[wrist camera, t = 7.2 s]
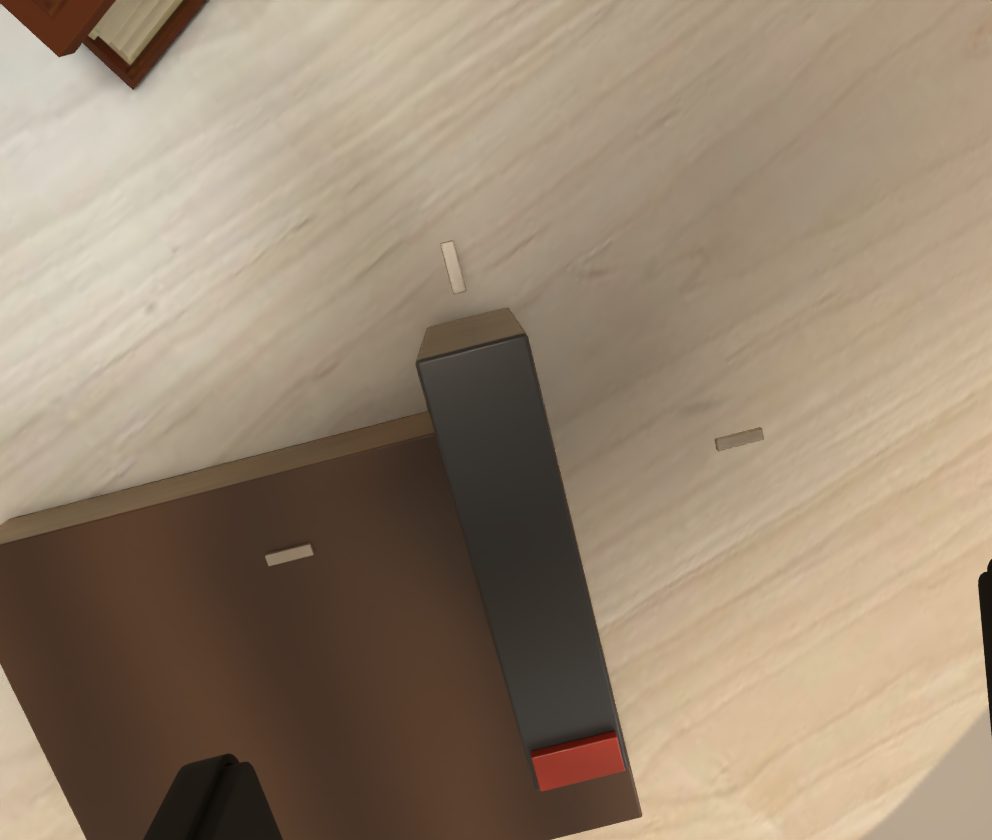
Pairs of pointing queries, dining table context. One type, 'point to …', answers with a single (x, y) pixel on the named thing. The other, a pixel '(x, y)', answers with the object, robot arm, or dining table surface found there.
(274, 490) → the rack base
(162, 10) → the book
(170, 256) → the dining table surface
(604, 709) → the dark grey rectangular block
